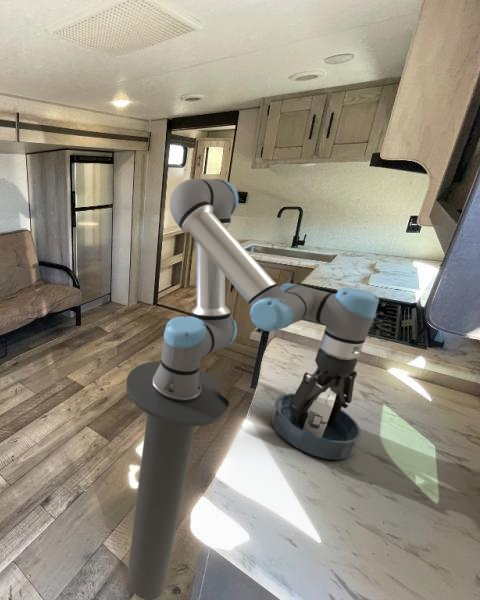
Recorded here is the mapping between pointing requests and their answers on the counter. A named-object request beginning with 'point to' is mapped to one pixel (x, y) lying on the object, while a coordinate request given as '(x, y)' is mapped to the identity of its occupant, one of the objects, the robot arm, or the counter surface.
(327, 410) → the ink box
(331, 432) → the bowl
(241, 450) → the counter surface
